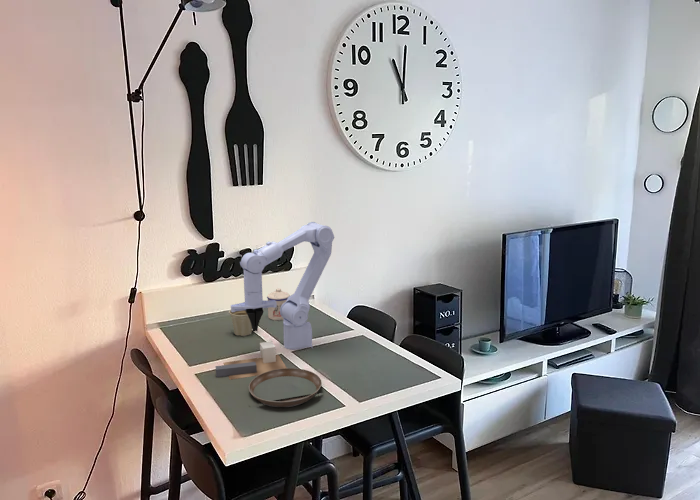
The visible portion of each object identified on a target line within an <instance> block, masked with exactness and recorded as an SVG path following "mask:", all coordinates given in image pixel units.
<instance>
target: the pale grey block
mask: <svg viewBox="0 0 700 500" xmlns="http://www.w3.org/2000/svg"><path fill="white" fill-rule="evenodd" d="M259 352H260V353H259V355H260V356H259V357H261V358H263V363H270V362H276V355H277V354H276V353H277V351H276V345H275V344H274V342H273V341H263V342H259Z"/></svg>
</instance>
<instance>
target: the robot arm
mask: <svg viewBox="0 0 700 500" xmlns="http://www.w3.org/2000/svg"><path fill="white" fill-rule="evenodd" d="M334 239H335V235H334V231H333V229H332V228H331V227H330V226H328V225H324V224H321V223H318V222H315V221H311V222H308V223H306V224H304V225H301V227H300V228H298V229H297V230H296V231H294V232H293V233H291V234H289V235H288V236H286V237H284V238H283V239H282V240H280V241H278V242H276V241H266V243H265V245H264V246H261V247H260V248H259V249H256V248H255V249H254V250H253V252H247V253H245V254H244V255H243V256H241V260H240V261H239V265H240V267H241V268H242V270H243V288H244V289H243V290H244V291H243V293H244V302H240V303H235V304H230V310H231V312H235V311H243V310H245V311H246V313H247V315H248V317H249V319H250V322H251V326H252V332H258V329H259V324H260V321H261V318H262V316H263V314H264V310H263V309H268V308H269V307H273V308H276V307H277V303H276V301H275V300H268V299H267V300H264V299H263V275H262V273H263V270H264V269H265V267H266V266H267V265H269V264H271V263H272V262H275V261H276V260H278V259H279V258H281V257H282V256H283V253H284V252H285V251H287V250H288V249H291V248H294V247H295V246H297V245H299V244H301V243H304V242H305V243H307V242H308V243H310V244H311V247H312V250H313V254H312V256H311V258H310V259H309V263H308V264H307V266H306V267H305V270H304V273H303V275H302V277H301V279H300V281H299V283H298V285H297V287H296V289H295V291H294V293H293V294H290V296H289V297H288V299H287V300H286V302H285V303H283V304H282V306H281V308H280V315H281V316H282V317H283V320H282V321H283V325H282V326H283V328H282V329H283V347H284V348H285V349H287V350H291V351H292V350H294V351H295V350H301V349H305V348H311V349H314V348H313V329H312V324H311V322H310V321H308V318H309V311H310V310H311V306H310V298H311V297H312V295H313V292H314V290H315V288H316V286H317V284H318V281H319V280H320V278H321V276H322V273H323V272H324V270H325V268H326V266H327V264H328V261H329V259H330V257H331V255H332V247H333V241H334Z"/></svg>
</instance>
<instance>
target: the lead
mask: <svg viewBox="0 0 700 500" xmlns="http://www.w3.org/2000/svg"><path fill="white" fill-rule="evenodd" d="M256 372H257V369H256V362H248V363H240V364H231V365H224V364H223V365H216V366H215V376H216V378H221V377H228V376H231V375H239V374H248V373H256Z"/></svg>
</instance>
